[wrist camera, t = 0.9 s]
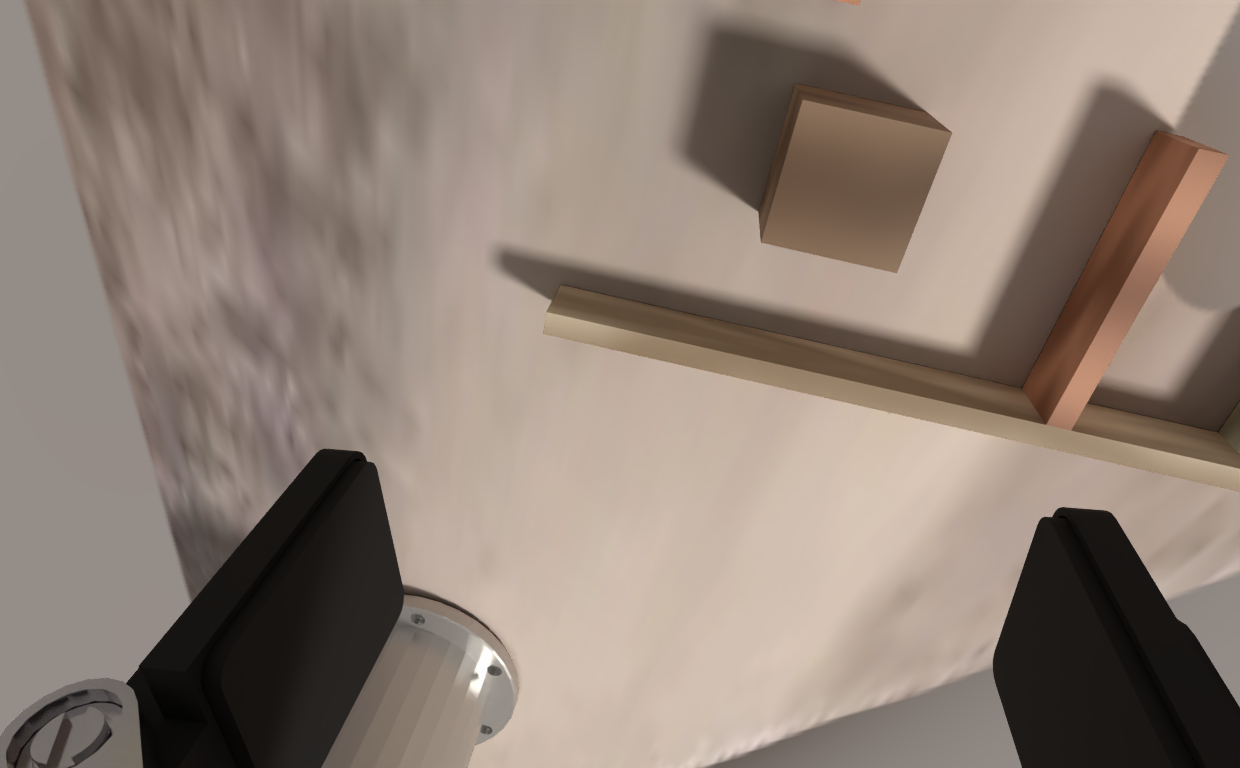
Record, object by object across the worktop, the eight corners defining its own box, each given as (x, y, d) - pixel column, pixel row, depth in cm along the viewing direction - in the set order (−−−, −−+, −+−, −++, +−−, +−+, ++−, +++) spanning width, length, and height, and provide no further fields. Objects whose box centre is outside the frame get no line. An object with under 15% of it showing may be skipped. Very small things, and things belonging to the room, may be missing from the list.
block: (879, 238, 31) (897, 273, 28) (758, 210, 31) (761, 242, 28) (926, 111, 29) (952, 132, 25) (794, 82, 29) (802, 99, 25)
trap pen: (1228, 456, 33) (1268, 498, 31) (557, 305, 34) (543, 333, 32) (1658, -146, 23) (1778, -160, 20) (658, -347, 23) (648, -385, 21)
